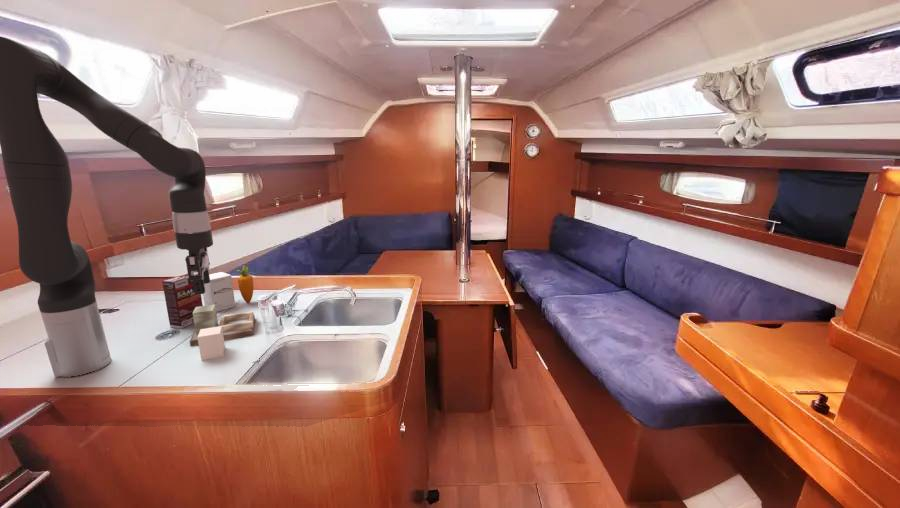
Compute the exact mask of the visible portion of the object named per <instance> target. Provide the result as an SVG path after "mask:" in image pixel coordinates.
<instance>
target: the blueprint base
mask: <svg viewBox="0 0 900 508" xmlns="http://www.w3.org/2000/svg"><path fill="white" fill-rule="evenodd" d="M193 319H194V323H193V324H194V330H193V332H192V335H191V337H190V340H189V345H190V347H192V346H193V347H194V346H197V345H198V346H199V344H198V338H197V337H198V334H199V332H200V329H205V328H212V327H218V326H222V330H223V336H224V341H227V339H228V340H233V339H238V338H244V337H249V336H253V335H254V334H255V331H254V330H255V322H254V321H255V320H256V317H255V314H254V311H253V310H251V311H246V312H238V313H232V314H224V315H221V318H220V319H218V315H217V312H216V307H215V304H214V305H207V306H205V305H203V306H199V307H195V309H194V311H193Z"/></svg>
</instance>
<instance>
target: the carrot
mask: <svg viewBox="0 0 900 508" xmlns="http://www.w3.org/2000/svg"><path fill="white" fill-rule="evenodd" d="M236 272H238V273H240V274H241V275H240V276H239V277H238V278H237V283H238V288H239V292H240V295H241V297H242V298H243V300H244V301H245V303H246V304H248V303H249V304H250V303H251V302H252V299H253V294H254V277H253V275H251V274H248V272H249V267H248V266H247V267H246V265H242V270H240V269H237V270H236Z"/></svg>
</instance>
